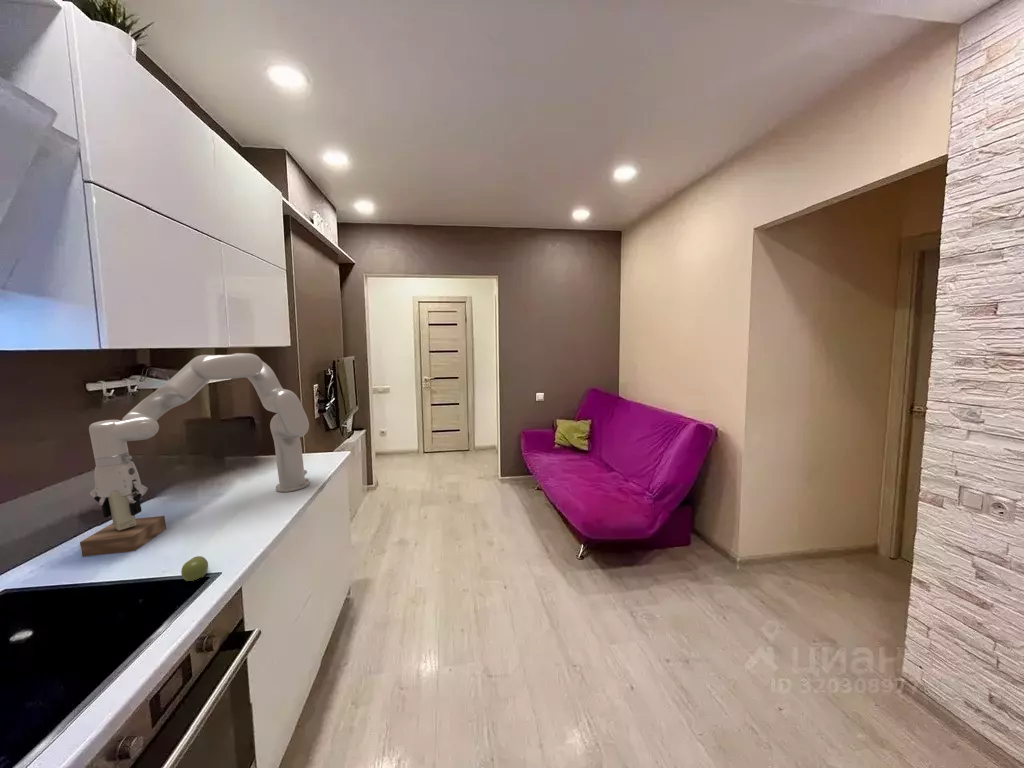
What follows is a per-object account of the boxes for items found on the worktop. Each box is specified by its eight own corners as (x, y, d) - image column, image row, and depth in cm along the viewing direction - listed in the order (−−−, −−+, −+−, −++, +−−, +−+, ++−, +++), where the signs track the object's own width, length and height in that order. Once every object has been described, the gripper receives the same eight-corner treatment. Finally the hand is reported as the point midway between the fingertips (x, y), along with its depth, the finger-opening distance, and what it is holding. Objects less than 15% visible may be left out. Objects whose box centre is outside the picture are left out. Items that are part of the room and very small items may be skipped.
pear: (178, 567, 104) (183, 556, 112) (181, 587, 104) (186, 575, 112) (205, 559, 107) (208, 549, 115) (208, 579, 107) (211, 567, 115)
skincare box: (137, 525, 129) (130, 488, 127) (118, 531, 125) (111, 493, 123) (131, 520, 132) (124, 484, 131) (112, 526, 129) (105, 489, 127)
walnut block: (119, 534, 135) (117, 520, 134) (166, 529, 137) (164, 515, 137) (82, 557, 121) (79, 542, 121) (135, 551, 124) (133, 536, 123)
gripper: (152, 454, 130) (161, 507, 132) (94, 458, 129) (104, 511, 131) (132, 462, 123) (142, 518, 125) (70, 466, 121) (82, 522, 124)
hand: (123, 514), depth 128 cm, fingers closed on skincare box, 7 cm apart
